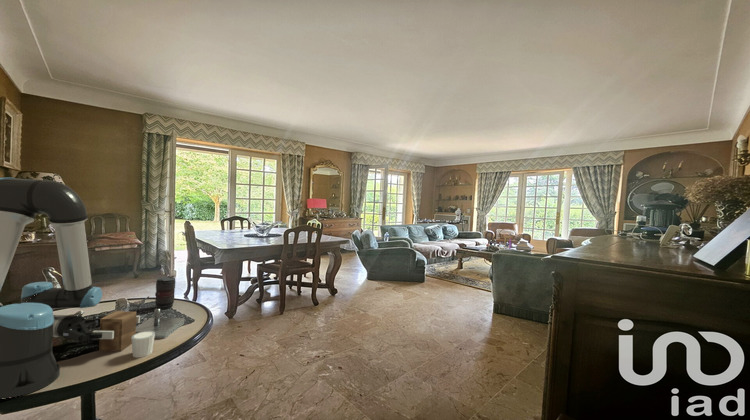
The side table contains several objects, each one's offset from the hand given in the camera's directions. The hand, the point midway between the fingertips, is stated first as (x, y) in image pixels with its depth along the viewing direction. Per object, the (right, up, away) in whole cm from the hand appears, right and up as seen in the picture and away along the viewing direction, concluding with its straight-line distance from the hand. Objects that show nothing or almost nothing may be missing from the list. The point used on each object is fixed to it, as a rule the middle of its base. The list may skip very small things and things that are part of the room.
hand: (127, 326), depth 112 cm
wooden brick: (-3, -7, 0) cm, 8 cm away
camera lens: (-13, -6, +39) cm, 41 cm away
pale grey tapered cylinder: (+9, -8, -4) cm, 13 cm away
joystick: (+1, -7, +14) cm, 16 cm away
